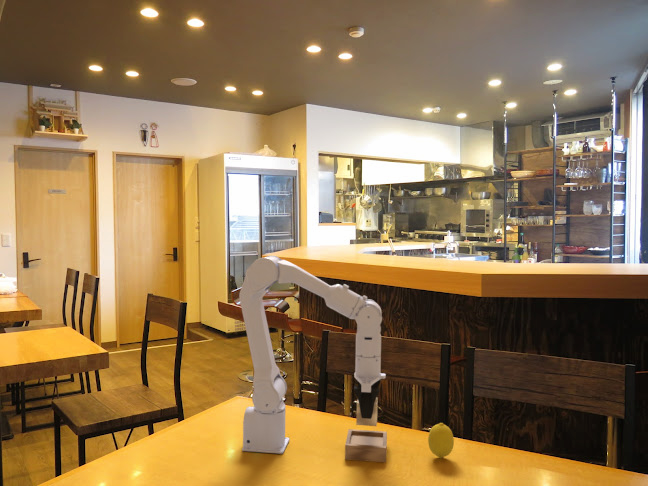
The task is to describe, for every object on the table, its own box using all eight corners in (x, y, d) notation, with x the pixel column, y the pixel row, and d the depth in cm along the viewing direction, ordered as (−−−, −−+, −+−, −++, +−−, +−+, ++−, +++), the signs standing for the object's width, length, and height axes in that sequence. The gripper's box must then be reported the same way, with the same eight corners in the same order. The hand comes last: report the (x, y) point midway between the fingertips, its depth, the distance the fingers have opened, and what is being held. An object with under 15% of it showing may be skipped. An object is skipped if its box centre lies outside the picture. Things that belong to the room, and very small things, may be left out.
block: (356, 424, 117) (356, 402, 117) (357, 417, 121) (358, 396, 121) (376, 426, 116) (377, 404, 116) (377, 418, 121) (377, 397, 121)
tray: (344, 459, 115) (345, 445, 115) (348, 442, 124) (348, 429, 124) (386, 462, 114) (386, 447, 114) (386, 445, 123) (386, 431, 123)
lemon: (453, 465, 113) (454, 428, 113) (427, 462, 114) (428, 426, 114) (452, 454, 119) (453, 419, 118) (427, 451, 120) (428, 417, 119)
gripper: (385, 363, 111) (384, 427, 111) (386, 347, 125) (385, 404, 126) (352, 362, 112) (351, 425, 112) (356, 346, 126) (356, 402, 126)
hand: (367, 413), depth 119 cm, fingers closed on block, 4 cm apart
